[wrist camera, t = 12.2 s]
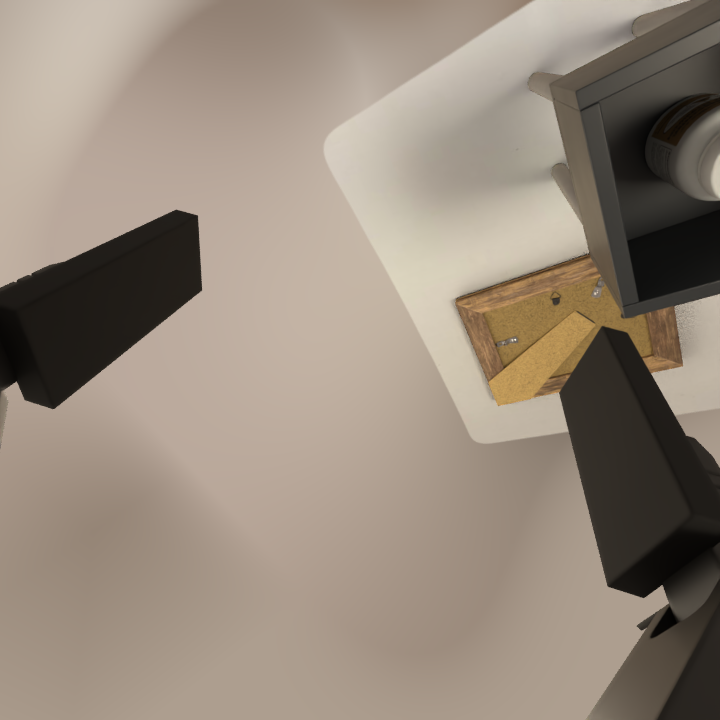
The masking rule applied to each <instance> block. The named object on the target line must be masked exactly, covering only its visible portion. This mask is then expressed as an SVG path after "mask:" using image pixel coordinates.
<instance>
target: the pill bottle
mask: <svg viewBox="0 0 720 720" xmlns="http://www.w3.org/2000/svg"><path fill="white" fill-rule="evenodd" d="M645 158H646V162H647V164H648V166H649V168H650V169H651V171H652V172H653V173H654V174H655V175H657V176H658V177H660V178H661V179H663V180H664V181H666V182H667V183H669V184H671V185H672V186H674V187H675V188H677V189H678V190H680V191H682V192H683V193H685V194H687V195H689V196H691V197H693V198H695V199H699V200H704V201H720V94H715V93H704V94H698V95H694V96H691V97H689V98H686V99H684V100H682V101H680V102H678V103H677V104H675V105H674V106H672V107H671V108H669V109H668V110H667V111H666V112H665V113H664V114H663V115H662V116H661V117H660V118H659V119H658V121H657V122H656V123H655V125H654V126H653V128H652V129H651V131H650V133H649V135H648V138H647V141H646V146H645Z"/></svg>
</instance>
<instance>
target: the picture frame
mask: <svg viewBox="0 0 720 720" xmlns="http://www.w3.org/2000/svg"><path fill="white" fill-rule="evenodd" d="M455 304H456V306H457V309H458V311H459V314H460V316H461V318H462V321H463V323H464V325H465V328H466V330H467V333H468V335H469V337H470V340H471V342H472V345H473V347H474V349H475V352H476V354H477V356H478V359H479V361H480V364H481V366H482V368H483V371H484V373H485V375H486V378H487V380H488V383H489V386H490V388H491V390H492V393H493V395H494V398H495V400H496V402H497V405H498V406H500V405H505V404H509V403H514V402H519V401H523V400H528V399H531V398H534V397H538V396H543V395H548V394H553V393H558V392H560V391H561V389H562V387H563V386H564V384H565V383H566V381H567V380H568V378H569V376H570V375H571V373H572V372H573V370H574V369H575V367H576V365H577V364H578V362H579V361H580V359H581V358H582V356H583V355H584V353H585V351H586V350H587V348H588V347H589V345H590V344H591V342H592V340H593V339H594V337H595V336H596V334H597V333H598V331H599V330H600V328H601V326H605V327H609V328H613V329H616V330H620V331H624V332H627V333H628V334H629V336H630V338H631V339H632V341H633V343H634V345H635V346H636V348H637V350H638V352H639V354H640V355H641V357H642V359H643V361H644V362H645V364H646V366H647V368H648V369H649V371H650V373H653V372H658V371H662V370H667V369H672V368H677V367H681V366H683V362H682V356H681V349H680V343H679V336H678V330H677V323H676V316H675V310H674V306H672V307H668V308H665V309H661V310H657V311H653V312H649V313H646V314H642V315H638V316H634V317H631V318H627V319H625V318H624V316H623V315H622V313H621V311H620V309H619V307H618V306H617V304H616V302H615V300H614V299H613V297H612V295H611V293H610V291H609V290H608V288H607V286H606V284H605V283H604V281H603V279H602V277H601V275H600V274H599V272H598V270H597V268H596V267H595V265H594V263H593V261H592V259H591V257H590V254H588V255H585V256H582V257H579V258H576V259H573V260H570V261H567V262H564V263H561V264H558V265H555V266H552V267H549V268H546V269H543V270H540V271H537V272H534V273H531V274H528V275H525V276H522V277H520V278H517V279H514V280H511V281H508V282H505V283H502V284H499V285H496V286H493V287H490V288H487V289H484V290H481V291H478V292H475V293H472V294H469V295H466V296H463V297H460V298H457V299H456V303H455Z"/></svg>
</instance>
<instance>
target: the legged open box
mask: <svg viewBox="0 0 720 720" xmlns="http://www.w3.org/2000/svg"><path fill="white" fill-rule="evenodd" d="M632 33H633V35H634V36H636V37H637V38H635V39H634V40H632V41H630V42H628V43H626V44H624V45H622V46H620V47H618V48H616V49H614V50H612V51H610V52H609V53H607V54H605V55H603V56H601V57H599V58H597V59H595V60H593V61H591V62H589V63H587V64H586V65H584V66H582V67H580V68H578V69H576V70H574V71H572V72H570V73H568V74H566V75H564V76H563V75H555V74H548V73H540V72H536V73H534V74H533V75H531V77H530V78H529V80H528V87H529V89H530V90H531V91H533V92H535V93H537V94H539V95H541V96H543V97H544V98H546V99H548V100H550V101H552V102H553V104H554V109H555V113H556V117H557V121H558V125H559V129H560V133H561V137H562V141H563V146H564V150H565V154H566V158H567V162H568V166H569V169H568V168H567V167H566V165H565V164H562V163H559V164H557V165H555V166H554V167H553V168H552V170H551V175H552V177H553V179H554V180H555V182H556V183H557V185H558V187H559V188H560V190H561V191H562V193H563V195H564V196H565V198H566V199H567V201H568V202H569V204H570V206H571V207H572V209H573V210H574V212H575V214H576V215H577V217H578V218H579V220H580V222H581V223H582V225H583V228H584V232H585V236H586V240H587V245H588V249H589V253H590V257H591V259H592V261H593V263H594V265H595V267H596V268H597V270H598V272H599V274H600V275H601V277H602V279H603V281H604V283H605V284H606V286H607V288H608V290H609V291H610V293H611V295H612V297H613V299H614V300H615V302H616V304H617V306H618V307H619V309H620V311H621V313H622V315H623V316H624V318H625V319H627V318H631V317H634V316H638V315H642V314H646V313H649V312H653V311H657V310H661V309H665V308H668V307H672V306H676V305H680V304H683V303H687V302H691V301H695V300H698V299H702V298H706V297H710V296H713V295H717V294H720V201H704V200H699V199H695V198H693V197H691V196H689V195H687V194H685V193H683V192H682V191H680V190H678V189H677V188H675V187H674V186H672V185H671V184H669V183H667V182H666V181H664V180H663V179H661V178H660V177H658V176H657V175H655V174H654V173H653V172H652V171H651V169H650V168H649V166H648V164H647V162H646V158H645V146H646V141H647V138H648V135H649V133H650V131H651V129H652V128H653V126H654V125H655V123H656V122H657V121H658V119H659V118H660V117H661V116H662V115H663V114H664V113H665V112H666V111H667V110H668V109H669V108H671V107H672V106H674V105H675V104H677V103H678V102H680V101H682V100H684V99H686V98H689V97H691V96H694V95H698V94H704V93H715V94H720V0H690V1H687V2H683V3H680V4H677V5H674V6H670V7H667V8H664V9H661V10H657V11H654V12H651V13H648V14H644V15H642V16H640V17H638V18H637V19H636V20H635V22H634V24H633V26H632Z"/></svg>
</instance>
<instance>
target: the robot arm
mask: <svg viewBox="0 0 720 720" xmlns="http://www.w3.org/2000/svg"><path fill="white" fill-rule="evenodd" d="M200 264H201V263H200V246H199V227H198V216H197V215H194V214H190V213H186V212H183V211H179V210H175V211H172V212H170V213H168V214H166V215H164V216H162V217H160V218H157V219H155V220H153V221H151V222H149V223H147V224H144V225H142V226H140V227H138V228H136V229H134V230H132V231H129V232H127V233H125V234H123V235H121V236H119V237H117V238H114V239H113V240H110V241H108V242H106V243H104V244H102V245H99V246H97V247H95V248H93V249H91V250H89V251H87V252H85V253H82V254H80V255H78V256H76V257H74V258H72V259H70V260H67V261H65V262H61V263H57V264H52V265H49V266H47V267H44V268H42V269H40V270H38V271H36V272H34V273H32V275H31V276H30V275H27V276H25V277H23V278H20V279H18V280H17V282H12V283H9V284H7V285H5V286H3V287H1V288H0V446H1V441H2V435H3V429H4V423H5V417H6V411H7V405H8V400H7V396H6V394H5V392H4V389H6V388H8V387H9V386H10V385H12V384H13V383H15V382H16V381H17V383H18V385H19V387H20V390H21V392H22V394H23V397H24V399H25V400H26V401H29V402H33V403H36V404H39V405H42V406H45V407H48V408H51V409H55V408H56V407H57V406H58V405H60V404H61V403H62V402H63V401H65V400H66V399H67V398H68V397H70V396H71V395H72V394H73V393H75V392H76V391H77V390H78V389H80V388H81V387H82V386H83V385H85V384H86V383H87V382H88V381H90V380H91V379H92V378H93V377H95V376H96V375H97V374H98V373H100V372H101V371H102V370H103V369H105V368H106V367H107V366H108V365H110V364H111V363H112V362H113V361H115V360H116V359H117V358H118V357H119V356H121V355H122V354H123V353H124V352H126V351H127V350H128V349H129V348H131V347H132V346H133V345H134V344H136V343H137V342H138V341H139V340H141V339H142V338H143V337H144V336H145V335H147V334H148V333H149V332H151V331H152V330H153V329H154V328H156V326H158V325H159V324H161V323H162V322H163V321H164V320H166V319H167V318H168V317H169V316H171V315H172V314H173V313H174V312H176V311H177V310H178V309H179V308H181V307H182V306H183V305H184V304H185V303H187V302H188V301H189V300H190V299H192V298H193V297H194V296H195V295H197V294H198V293H199V292H200V291H202V281H201V265H200ZM559 394H560V398H561V402H562V406H563V410H564V414H565V418H566V422H567V426H568V430H569V434H570V438H571V442H572V446H573V450H574V454H575V458H576V461H577V466H578V470H579V474H580V478H581V482H582V486H583V490H584V494H585V498H586V502H587V505H588V509H589V514H590V518H591V522H592V526H593V530H594V534H595V538H596V541H597V546H598V549H599V554H600V558H601V562H602V565H603V570H604V573H605V578H606V582H607V586H608V587H611V588H614V589H617V590H620V591H623V592H627V593H630V594H633V595H636V596H639V597H642V598H645V597H646V596H648V595H649V594H650V593H652V592H653V591H654V590H656V589H657V588H658V587H660V586H661V585H663V587H664V590H665V593H666V596H667V598H668V601H669V604H668V605H666V606H665V607H663V608H662V609H660V610H659V611H658V612H656V613H655V614H653V615H652V616H650V617H649V618H647V619H646V620H644V621H643V622H641V623H640V624H638V625H637V627H638V628H639V629H640V630H644V629H645V628H647V629H646V630H645V632H644V633H643V635H642V636H641V638H640V639H639V641H638V642H637V644H636V645H635V647H634V648H633V650H632V651H631V653H630V654H629V656H628V657H627V659H626V660H625V662H624V663H623V665H622V666H621V668H620V669H619V671H618V672H617V674H616V675H615V677H614V678H613V680H612V681H611V683H610V684H609V686H608V687H607V689H606V690H605V692H604V693H603V695H602V696H601V698H600V699H599V701H598V702H597V704H596V705H595V707H594V708H593V710H592V711H591V713H590V715H589V716H588V717H587V719H586V720H720V468H719V466H718V464H717V463H716V461H715V459H714V458H713V456H712V455H711V454H710V453H709V452H708V451H707V450H706V449H705V448H704V447H703V446H702V445H701V444H700V443H699V442H698V441H697V440H696V439H695V438H692V437H689V436H686V435H685V433H684V431H683V429H682V428H681V426H680V424H679V422H678V421H677V419H676V417H675V415H674V413H673V412H672V410H671V408H670V406H669V405H668V403H667V401H666V399H665V398H664V396H663V394H662V392H661V391H660V389H659V387H658V385H657V384H656V382H655V380H654V378H653V376H652V375H651V373H650V371H649V369H648V368H647V366H646V364H645V362H644V361H643V359H642V357H641V355H640V354H639V352H638V350H637V348H636V346H635V345H634V343H633V341H632V339H631V338H630V336H629V334H628V333H627V332H624V331H620V330H616V329H613V328H609V327H605V326H601V328H600V330H599V331H598V333H597V334H596V336H595V337H594V339H593V340H592V342H591V344H590V345H589V347H588V348H587V350H586V351H585V353H584V355H583V356H582V358H581V359H580V361H579V362H578V364H577V365H576V367H575V369H574V370H573V372H572V373H571V375H570V376H569V378H568V380H567V381H566V383H565V384H564V386H563V387H562V389H561V391H560V392H559Z"/></svg>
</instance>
